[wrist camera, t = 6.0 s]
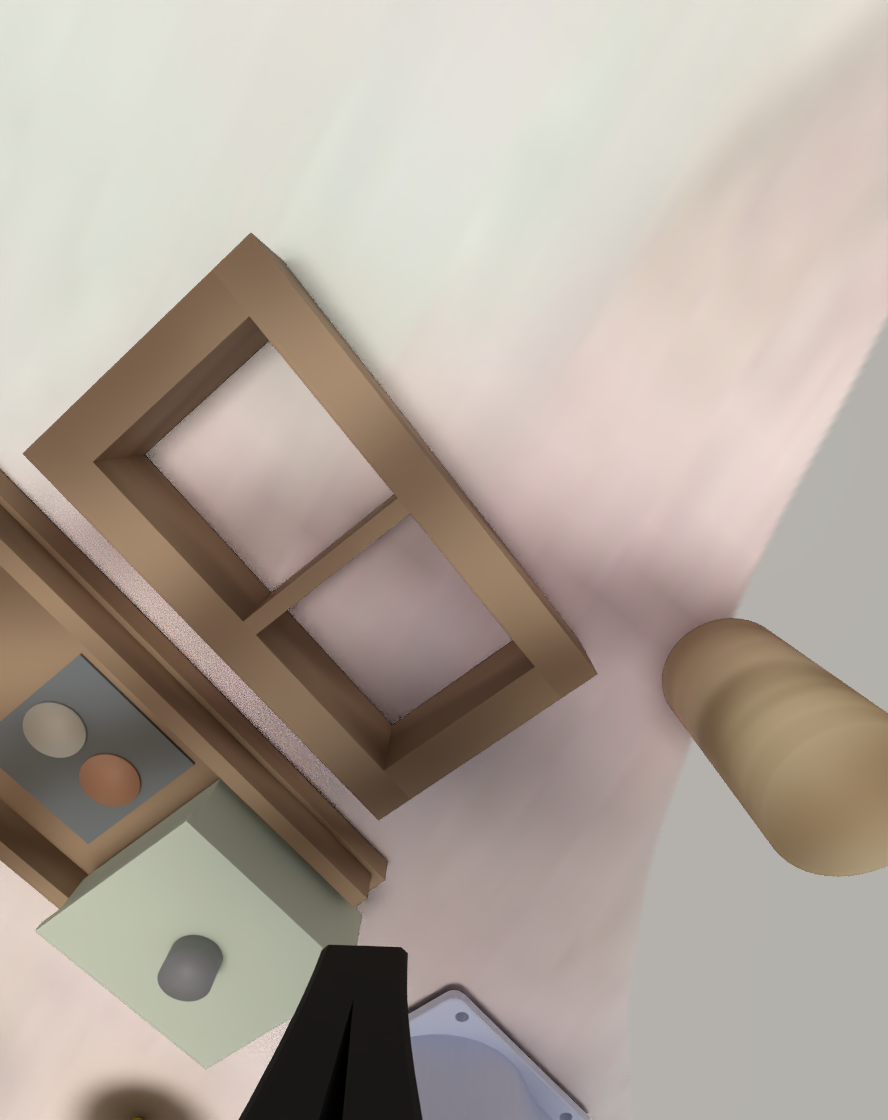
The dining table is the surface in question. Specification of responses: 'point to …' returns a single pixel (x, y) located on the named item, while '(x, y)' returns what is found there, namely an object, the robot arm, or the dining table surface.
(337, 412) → the socket board
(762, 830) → the oak peg
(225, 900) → the lid
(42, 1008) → the dining table surface
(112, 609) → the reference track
